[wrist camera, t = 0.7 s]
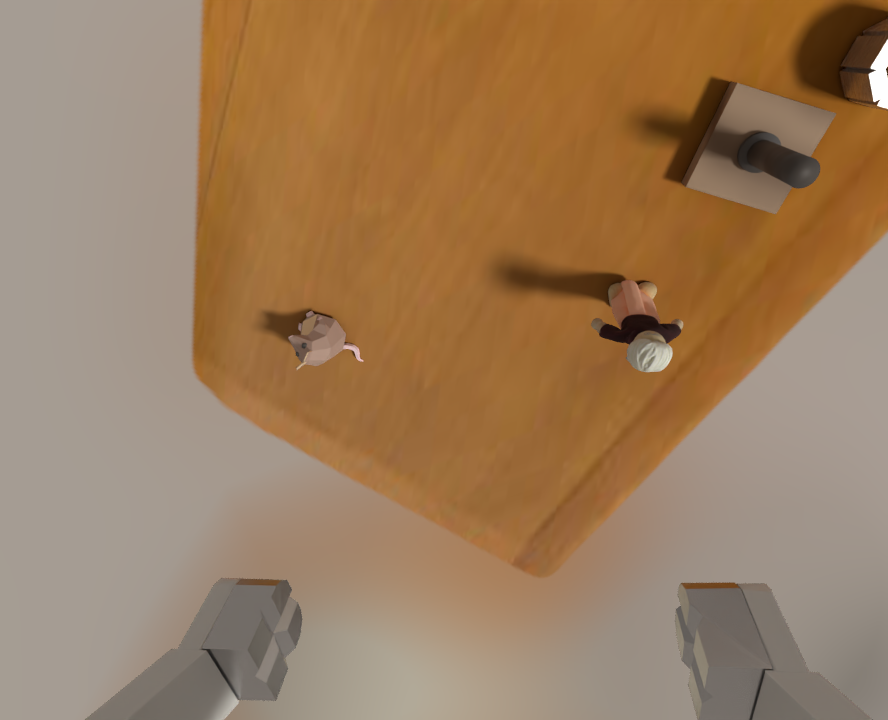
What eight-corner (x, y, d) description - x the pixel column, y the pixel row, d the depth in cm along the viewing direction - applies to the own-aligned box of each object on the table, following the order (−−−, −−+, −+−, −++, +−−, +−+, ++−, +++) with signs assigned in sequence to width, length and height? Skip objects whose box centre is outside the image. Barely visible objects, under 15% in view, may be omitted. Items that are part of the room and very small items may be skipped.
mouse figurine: (351, 375, 60) (333, 410, 55) (291, 333, 59) (266, 365, 53) (376, 345, 58) (360, 379, 52) (314, 301, 56) (291, 331, 50)
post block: (730, 81, 42) (781, 91, 33) (826, 111, 42) (900, 127, 34) (681, 182, 46) (716, 213, 38) (768, 209, 46) (822, 245, 38)
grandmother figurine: (666, 269, 50) (707, 332, 39) (668, 306, 52) (707, 376, 41) (582, 283, 51) (599, 347, 41) (586, 318, 53) (604, 389, 42)
